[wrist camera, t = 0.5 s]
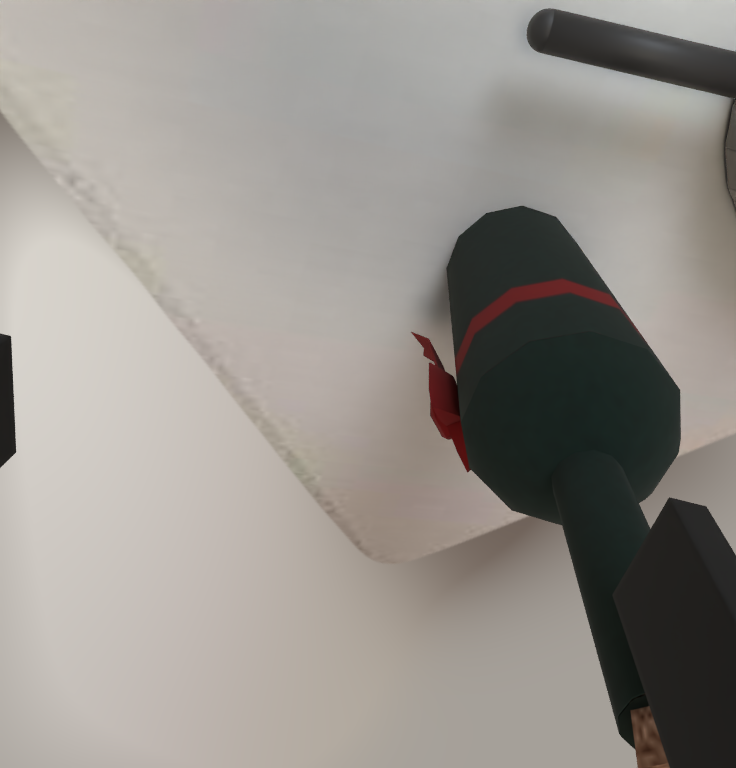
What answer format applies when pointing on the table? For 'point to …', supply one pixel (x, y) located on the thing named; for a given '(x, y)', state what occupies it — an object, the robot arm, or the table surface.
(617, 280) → the table surface
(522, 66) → the table surface
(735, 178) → the pan
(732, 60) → the pan handle
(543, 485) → the wine bottle
